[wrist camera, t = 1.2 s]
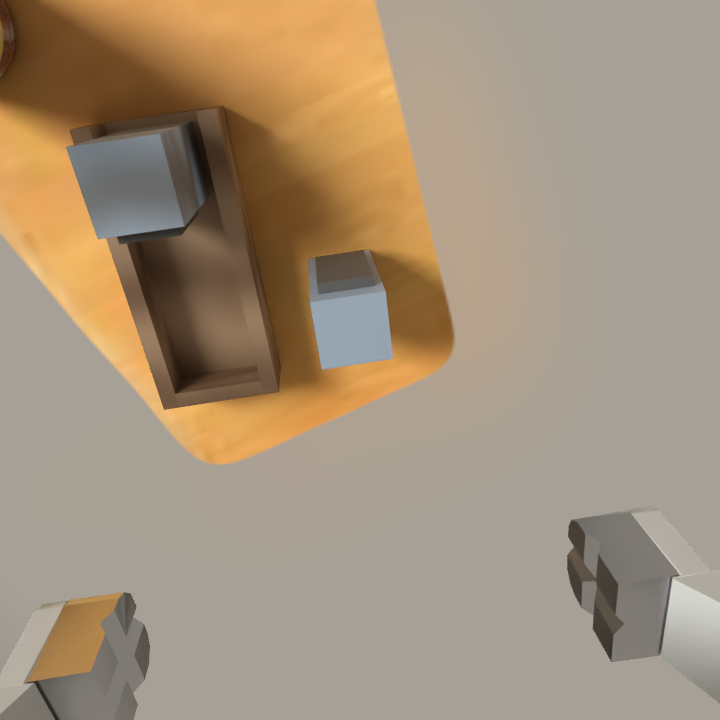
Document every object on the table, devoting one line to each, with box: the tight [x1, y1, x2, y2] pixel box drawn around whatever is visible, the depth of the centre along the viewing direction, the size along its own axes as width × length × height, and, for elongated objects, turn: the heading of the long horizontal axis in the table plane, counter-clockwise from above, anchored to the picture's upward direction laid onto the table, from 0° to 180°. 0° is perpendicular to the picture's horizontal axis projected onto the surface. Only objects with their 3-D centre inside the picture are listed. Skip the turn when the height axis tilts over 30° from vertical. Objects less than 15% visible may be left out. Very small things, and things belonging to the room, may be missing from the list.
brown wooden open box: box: [66, 106, 280, 410], centre depth 32 cm, size 17×8×9 cm, turn 7°
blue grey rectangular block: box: [308, 250, 393, 370], centre depth 33 cm, size 5×4×8 cm
